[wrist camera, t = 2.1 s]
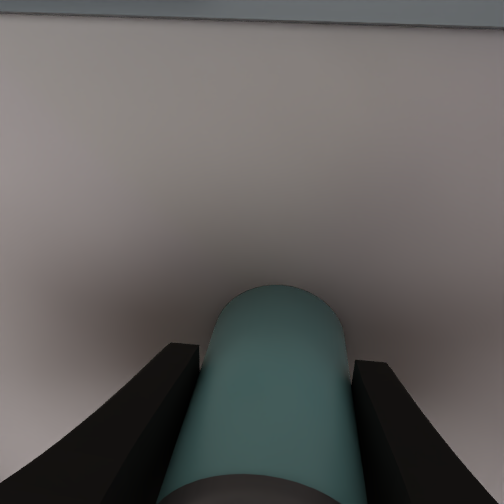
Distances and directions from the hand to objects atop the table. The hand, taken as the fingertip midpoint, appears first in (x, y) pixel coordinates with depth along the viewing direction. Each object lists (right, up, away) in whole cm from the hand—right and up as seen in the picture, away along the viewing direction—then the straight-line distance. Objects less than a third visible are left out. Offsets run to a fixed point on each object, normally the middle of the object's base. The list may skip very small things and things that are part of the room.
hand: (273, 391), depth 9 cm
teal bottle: (0, +1, +2) cm, 2 cm away
